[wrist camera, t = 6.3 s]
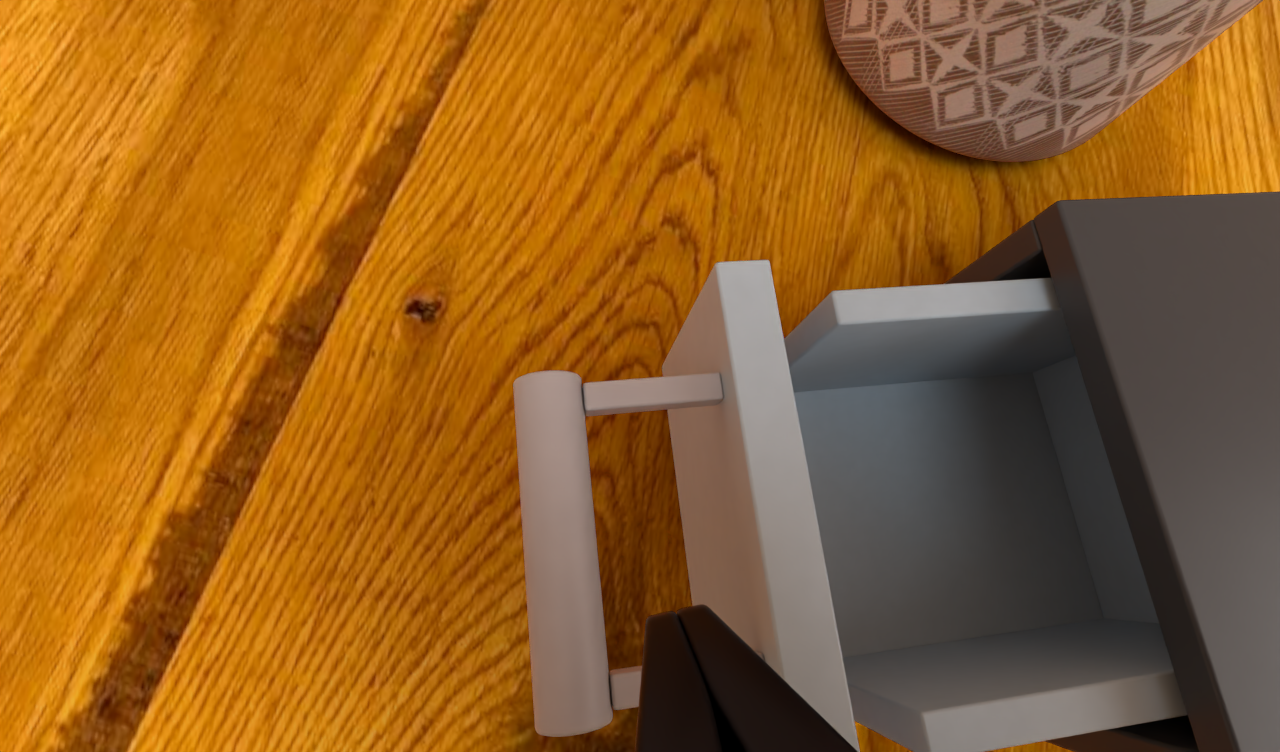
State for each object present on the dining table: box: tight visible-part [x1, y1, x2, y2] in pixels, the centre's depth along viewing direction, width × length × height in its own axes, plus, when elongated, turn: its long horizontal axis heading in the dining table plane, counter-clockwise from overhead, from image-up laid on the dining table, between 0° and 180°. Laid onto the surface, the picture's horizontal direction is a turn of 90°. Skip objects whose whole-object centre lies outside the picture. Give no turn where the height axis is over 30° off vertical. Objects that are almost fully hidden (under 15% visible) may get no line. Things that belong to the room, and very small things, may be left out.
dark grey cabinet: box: [944, 192, 1280, 752], centre depth 17 cm, size 14×12×9 cm
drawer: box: [513, 260, 1188, 752], centre depth 16 cm, size 17×10×7 cm, turn 97°
